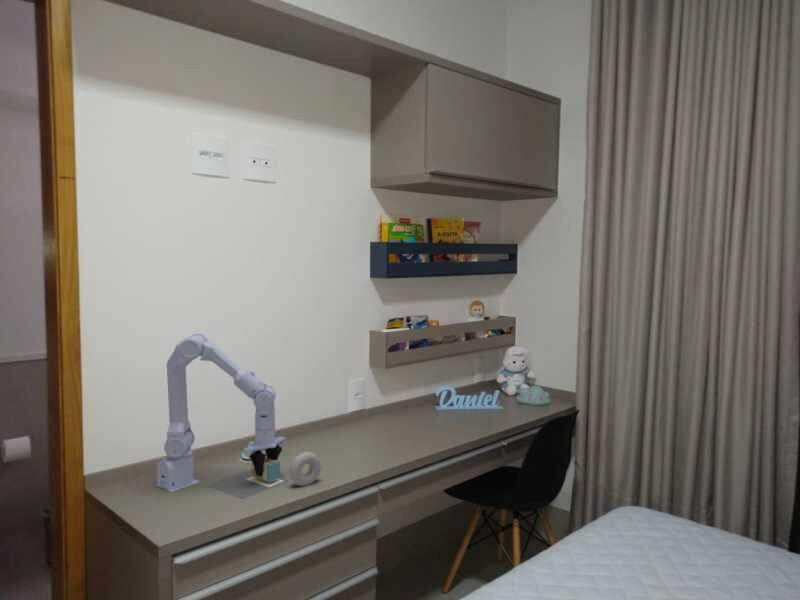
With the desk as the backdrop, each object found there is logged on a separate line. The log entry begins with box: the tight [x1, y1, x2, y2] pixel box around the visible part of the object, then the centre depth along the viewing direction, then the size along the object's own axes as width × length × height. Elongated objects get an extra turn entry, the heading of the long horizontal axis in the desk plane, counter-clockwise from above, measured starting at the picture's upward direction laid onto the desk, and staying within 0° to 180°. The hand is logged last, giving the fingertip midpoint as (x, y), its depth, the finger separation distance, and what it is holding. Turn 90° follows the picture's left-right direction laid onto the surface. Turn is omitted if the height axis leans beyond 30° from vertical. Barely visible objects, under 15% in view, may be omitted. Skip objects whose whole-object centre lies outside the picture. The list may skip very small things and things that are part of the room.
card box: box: [250, 457, 281, 482], centre depth 175 cm, size 8×4×5 cm, turn 55°
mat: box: [205, 469, 289, 500], centre depth 173 cm, size 17×16×1 cm
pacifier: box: [238, 440, 255, 463], centre depth 193 cm, size 7×6×6 cm
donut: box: [289, 451, 322, 487], centre depth 172 cm, size 10×4×10 cm, turn 131°
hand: (265, 473), depth 175 cm, fingers closed on card box, 4 cm apart
